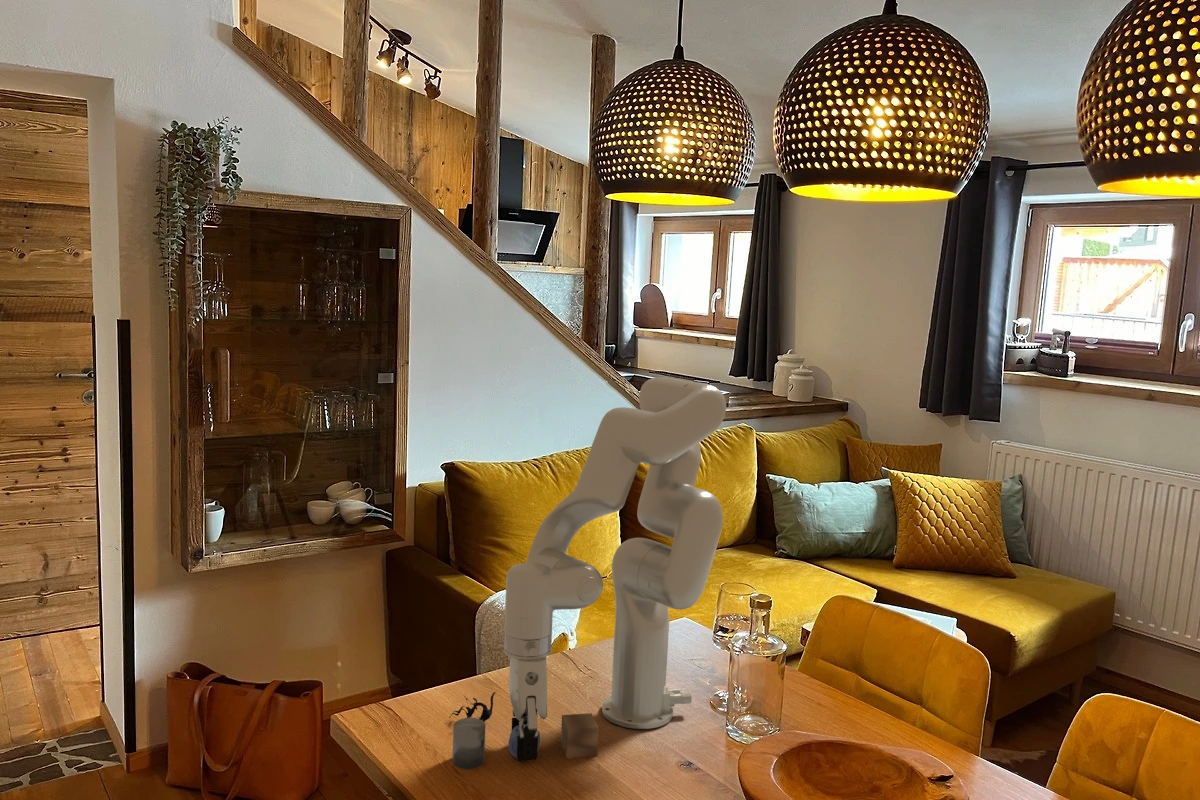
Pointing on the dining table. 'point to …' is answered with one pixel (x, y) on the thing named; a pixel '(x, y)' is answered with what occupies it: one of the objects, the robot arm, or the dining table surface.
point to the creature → (485, 712)
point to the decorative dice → (513, 740)
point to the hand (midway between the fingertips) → (523, 749)
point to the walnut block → (579, 735)
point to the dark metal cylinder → (468, 743)
